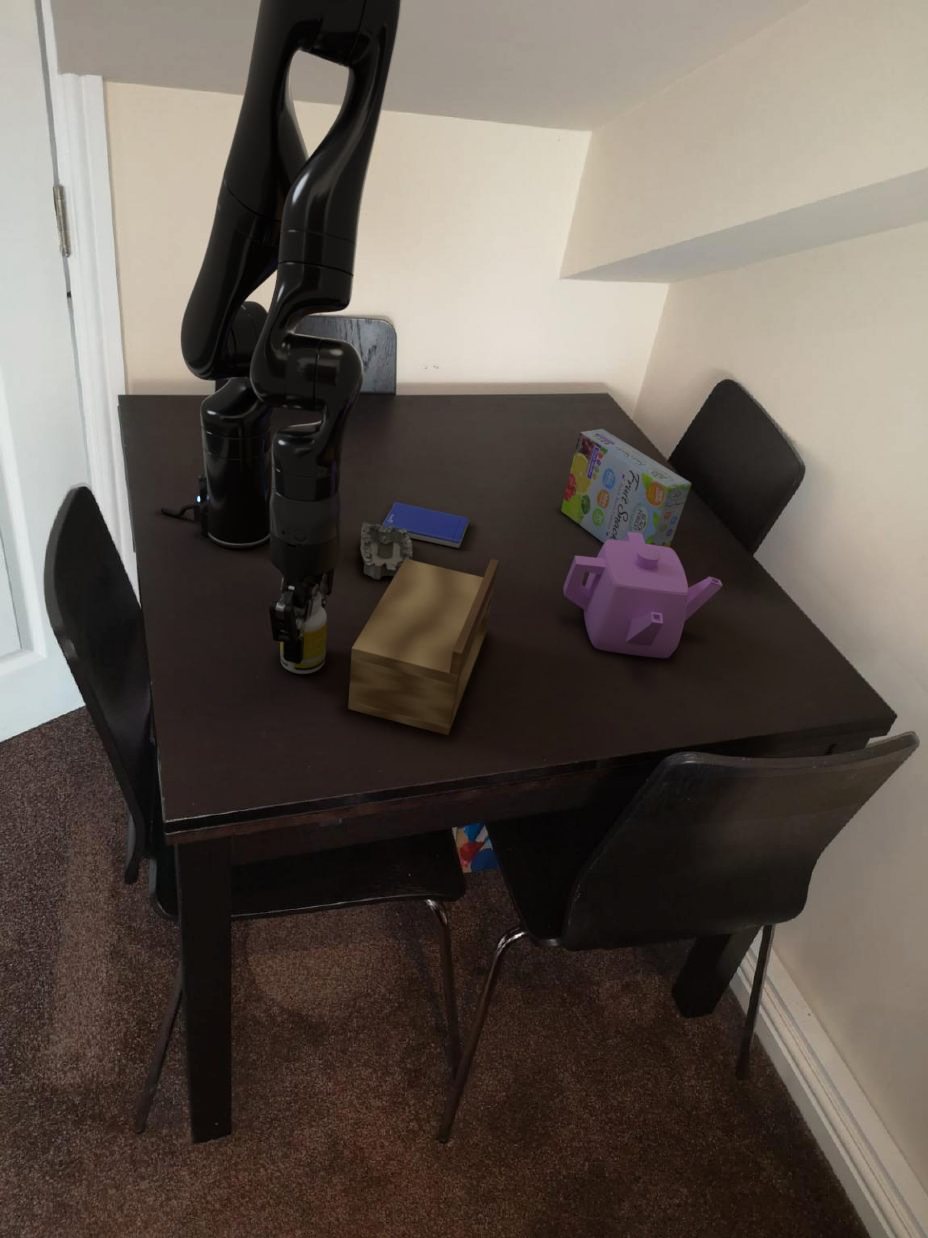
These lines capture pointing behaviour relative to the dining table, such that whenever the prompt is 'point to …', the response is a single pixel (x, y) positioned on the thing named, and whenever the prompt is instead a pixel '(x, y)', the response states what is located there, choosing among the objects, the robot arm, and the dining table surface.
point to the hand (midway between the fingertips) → (303, 645)
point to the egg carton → (384, 549)
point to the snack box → (622, 491)
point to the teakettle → (635, 597)
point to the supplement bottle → (311, 641)
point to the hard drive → (428, 524)
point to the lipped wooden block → (421, 645)
